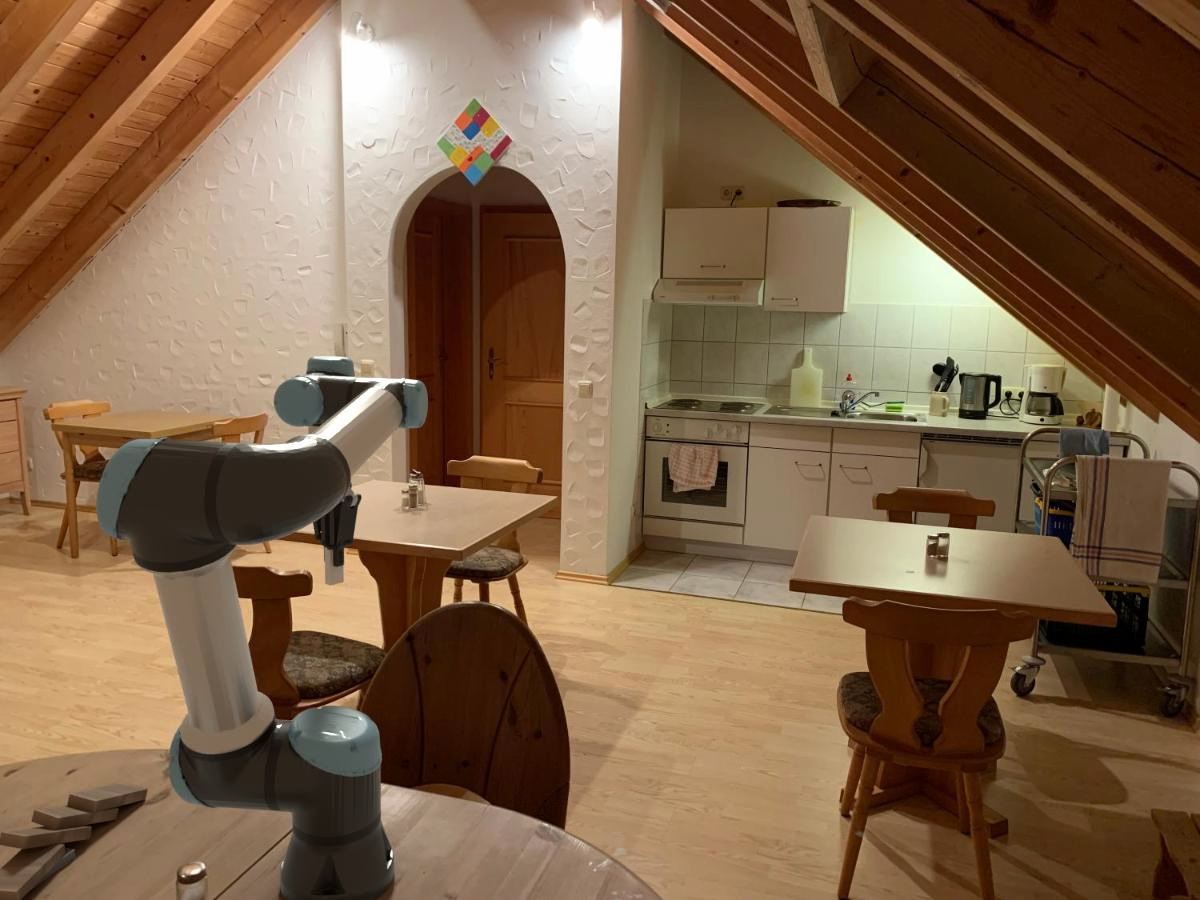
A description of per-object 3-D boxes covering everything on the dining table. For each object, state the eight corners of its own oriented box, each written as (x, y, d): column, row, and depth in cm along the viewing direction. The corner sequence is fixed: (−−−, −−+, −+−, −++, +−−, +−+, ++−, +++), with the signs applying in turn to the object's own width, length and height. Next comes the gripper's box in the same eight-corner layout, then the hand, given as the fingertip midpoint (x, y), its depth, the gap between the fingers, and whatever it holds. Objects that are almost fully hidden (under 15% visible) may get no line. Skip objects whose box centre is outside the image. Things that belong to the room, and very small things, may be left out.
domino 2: (68, 823, 132) (0, 832, 123) (91, 826, 130) (25, 836, 121) (65, 834, 132) (-2, 844, 123) (89, 838, 130) (22, 849, 121)
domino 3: (46, 842, 128) (-19, 886, 119) (74, 849, 127) (11, 894, 117) (47, 852, 128) (-18, 897, 119) (75, 860, 127) (12, 905, 118)
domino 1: (95, 800, 138) (34, 809, 129) (118, 808, 136) (57, 818, 127) (93, 811, 138) (31, 821, 129) (116, 819, 136) (54, 829, 127)
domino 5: (122, 782, 143) (69, 793, 134) (147, 788, 142) (95, 801, 132) (120, 792, 143) (67, 805, 134) (145, 799, 141) (93, 812, 132)
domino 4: (28, 842, 125) (-23, 889, 116) (64, 844, 125) (16, 891, 115) (29, 852, 126) (-22, 900, 116) (65, 854, 126) (17, 902, 116)
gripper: (374, 451, 151) (375, 586, 155) (328, 441, 159) (330, 569, 163) (336, 457, 145) (338, 597, 149) (290, 445, 153) (293, 579, 158)
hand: (334, 582), depth 156 cm, fingers closed
